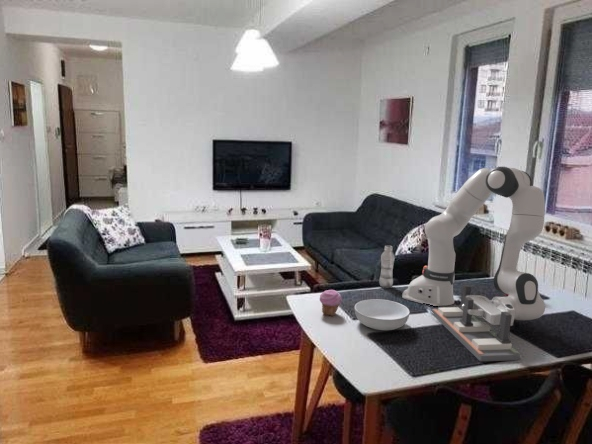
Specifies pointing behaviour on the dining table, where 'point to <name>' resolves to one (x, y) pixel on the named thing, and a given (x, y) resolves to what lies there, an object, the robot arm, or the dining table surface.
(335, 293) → the cupcake
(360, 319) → the serving bowl
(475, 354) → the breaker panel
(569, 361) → the dining table surface
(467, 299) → the block
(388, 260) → the plastic bottle
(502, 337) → the post
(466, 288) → the block
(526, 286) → the robot arm
